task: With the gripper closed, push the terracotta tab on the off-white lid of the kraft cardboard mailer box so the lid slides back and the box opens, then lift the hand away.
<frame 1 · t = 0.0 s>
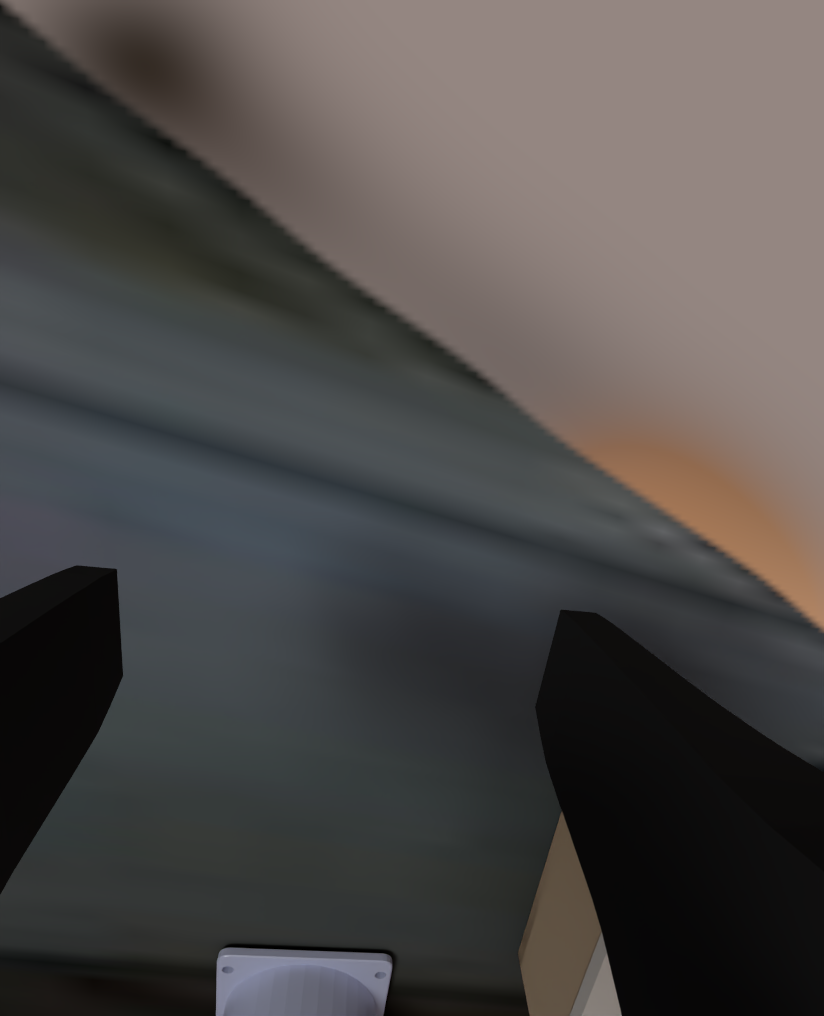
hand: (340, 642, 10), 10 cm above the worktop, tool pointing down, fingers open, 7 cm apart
mailer box: (652, 871, 28), on the worktop
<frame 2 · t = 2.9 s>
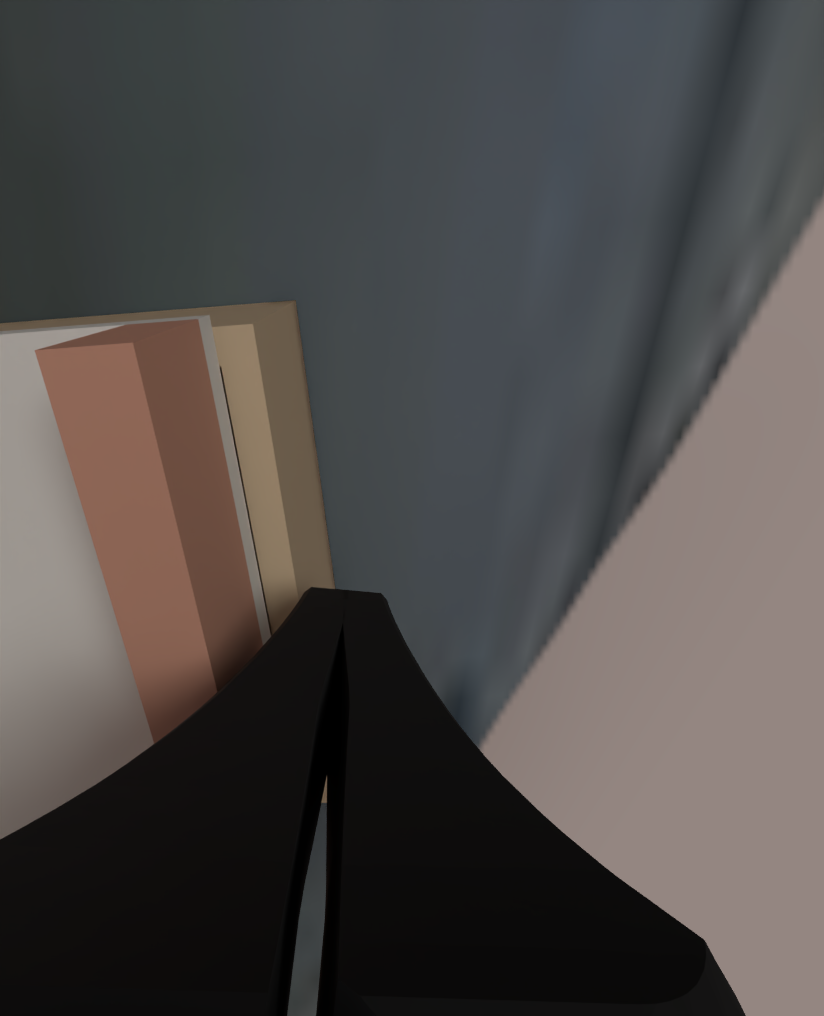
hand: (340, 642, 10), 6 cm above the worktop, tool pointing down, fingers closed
mailer box: (92, 521, 16), on the worktop
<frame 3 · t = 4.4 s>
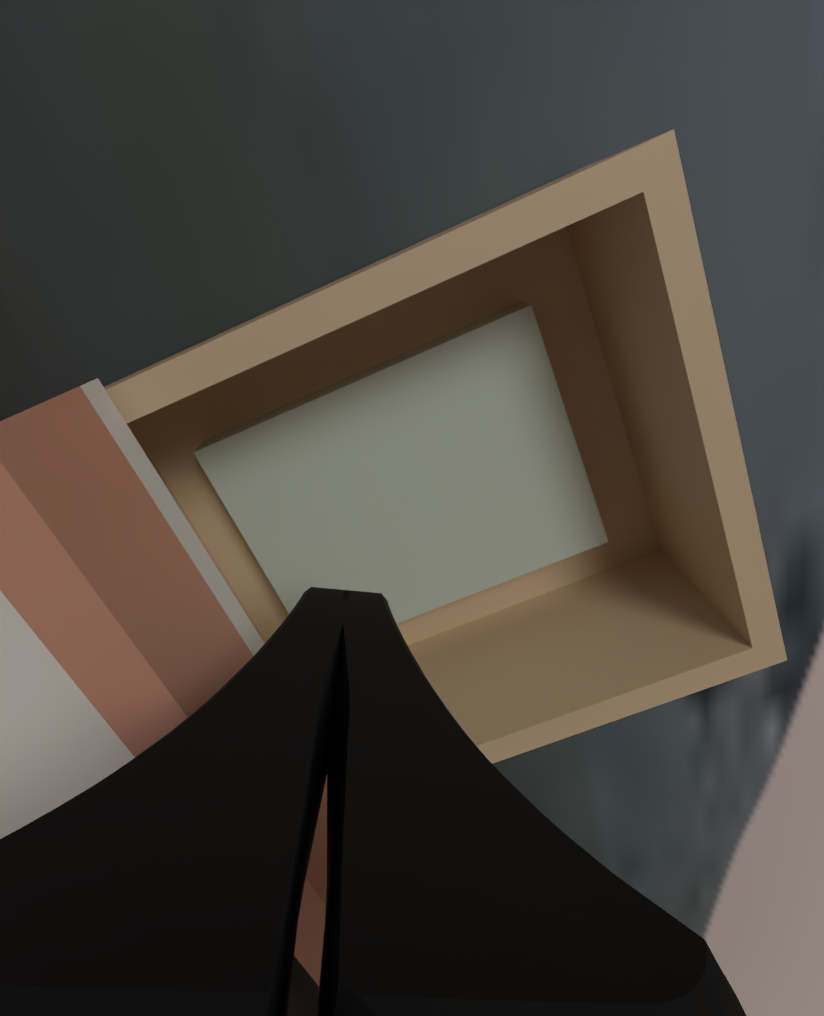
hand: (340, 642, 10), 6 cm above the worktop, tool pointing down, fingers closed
mailer box: (407, 476, 16), on the worktop
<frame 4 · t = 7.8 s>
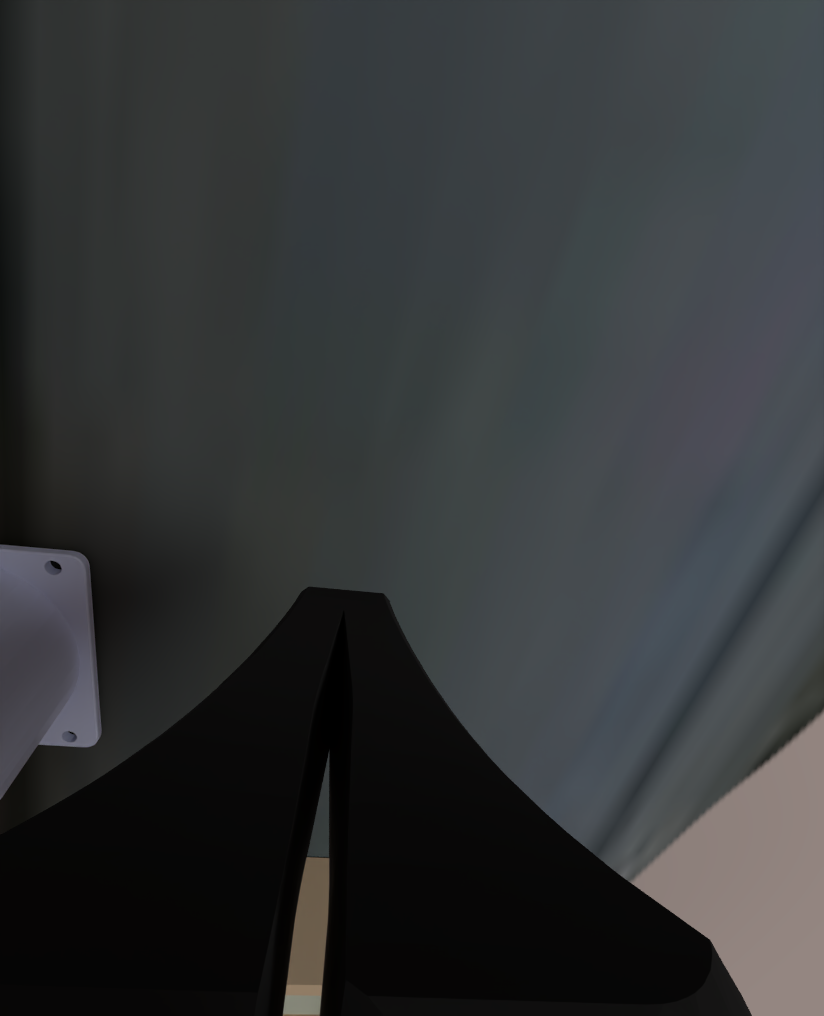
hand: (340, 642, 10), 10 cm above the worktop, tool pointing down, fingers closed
mailer box: (254, 933, 28), on the worktop
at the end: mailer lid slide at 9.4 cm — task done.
